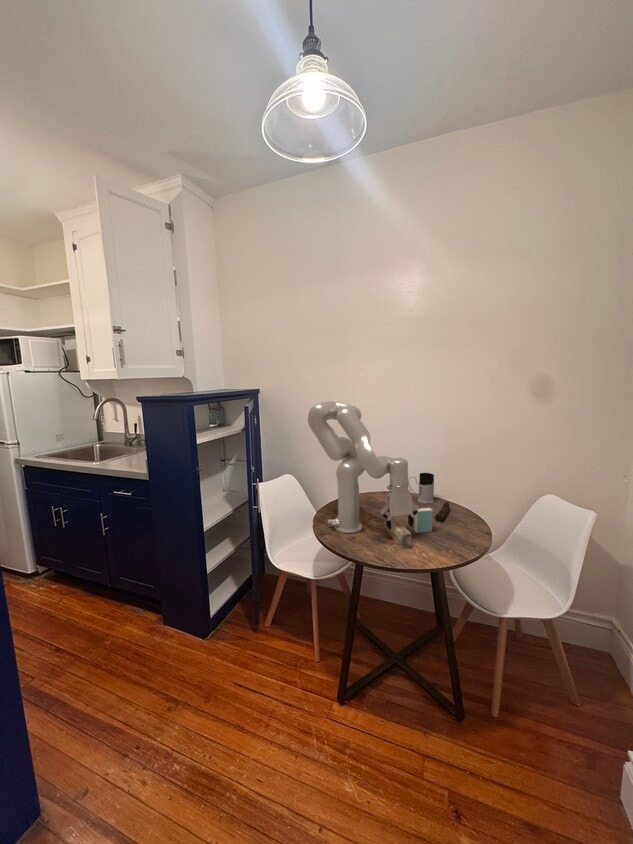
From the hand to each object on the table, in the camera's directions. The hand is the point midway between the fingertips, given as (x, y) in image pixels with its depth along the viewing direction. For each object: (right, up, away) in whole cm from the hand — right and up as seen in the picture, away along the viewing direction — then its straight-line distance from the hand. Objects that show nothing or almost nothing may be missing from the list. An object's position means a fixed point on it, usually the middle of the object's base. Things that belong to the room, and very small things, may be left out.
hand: (399, 526), depth 136 cm
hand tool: (+28, -2, +24) cm, 37 cm away
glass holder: (+23, 0, +43) cm, 49 cm away
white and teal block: (+12, -4, +7) cm, 15 cm away
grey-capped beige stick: (-1, -5, +1) cm, 5 cm away
